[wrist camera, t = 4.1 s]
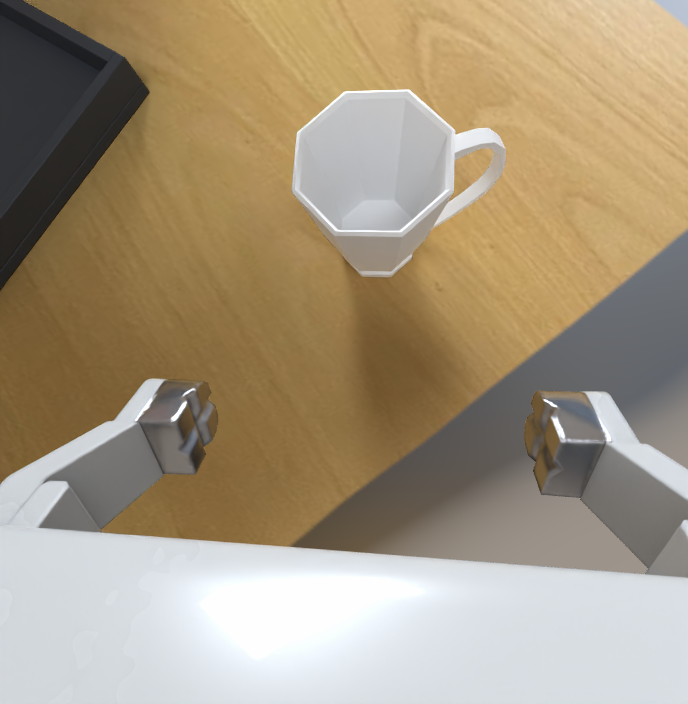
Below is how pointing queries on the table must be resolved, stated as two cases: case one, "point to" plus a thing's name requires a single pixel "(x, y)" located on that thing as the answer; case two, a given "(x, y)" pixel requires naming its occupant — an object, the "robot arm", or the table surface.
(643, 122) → the table surface
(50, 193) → the tray
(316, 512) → the table surface
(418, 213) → the cup
